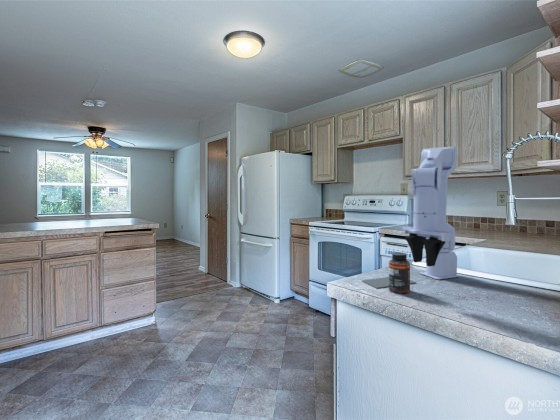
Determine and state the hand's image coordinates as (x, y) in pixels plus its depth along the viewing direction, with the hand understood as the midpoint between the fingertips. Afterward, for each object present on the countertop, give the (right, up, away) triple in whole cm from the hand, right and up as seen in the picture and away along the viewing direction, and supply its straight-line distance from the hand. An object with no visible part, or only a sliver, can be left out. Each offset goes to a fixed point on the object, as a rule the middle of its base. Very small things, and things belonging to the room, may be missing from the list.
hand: (424, 263), depth 84 cm
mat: (-3, -9, +18) cm, 21 cm away
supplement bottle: (-3, -10, +10) cm, 14 cm away
